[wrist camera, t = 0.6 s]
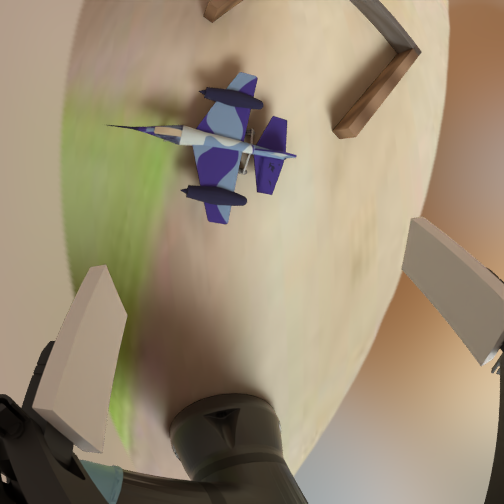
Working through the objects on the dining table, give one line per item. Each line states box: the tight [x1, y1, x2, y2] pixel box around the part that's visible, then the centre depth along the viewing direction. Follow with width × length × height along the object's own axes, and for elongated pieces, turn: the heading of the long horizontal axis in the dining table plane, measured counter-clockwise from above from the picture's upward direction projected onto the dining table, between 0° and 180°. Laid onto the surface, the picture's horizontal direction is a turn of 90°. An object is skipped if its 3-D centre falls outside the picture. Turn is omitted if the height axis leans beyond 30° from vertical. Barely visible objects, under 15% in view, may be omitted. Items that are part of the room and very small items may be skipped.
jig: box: [204, 0, 421, 139], centre depth 23 cm, size 18×19×3 cm
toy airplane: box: [108, 72, 297, 224], centre depth 24 cm, size 13×14×4 cm
